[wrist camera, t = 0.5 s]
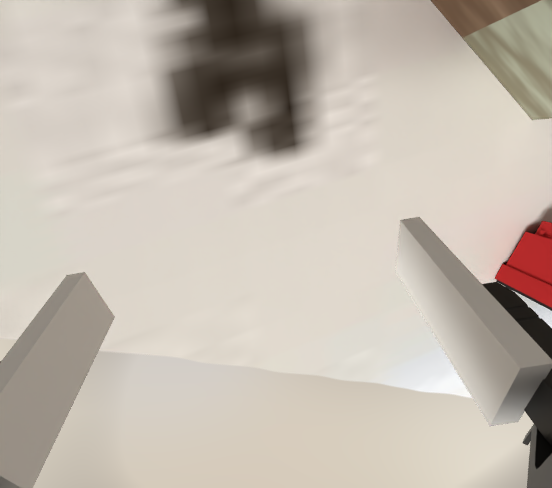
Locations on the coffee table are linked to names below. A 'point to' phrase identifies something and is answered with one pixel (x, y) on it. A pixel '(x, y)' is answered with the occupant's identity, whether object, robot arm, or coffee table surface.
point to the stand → (510, 45)
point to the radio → (531, 267)
